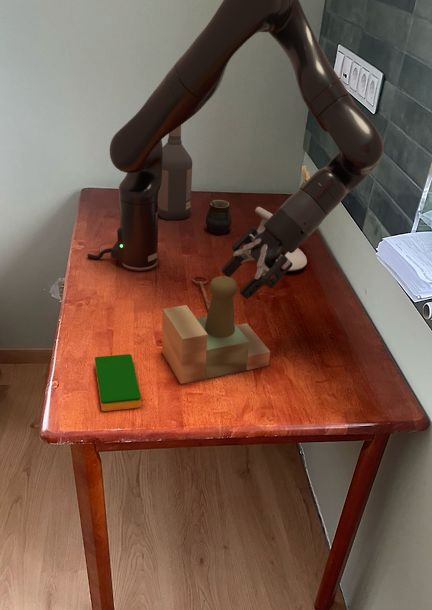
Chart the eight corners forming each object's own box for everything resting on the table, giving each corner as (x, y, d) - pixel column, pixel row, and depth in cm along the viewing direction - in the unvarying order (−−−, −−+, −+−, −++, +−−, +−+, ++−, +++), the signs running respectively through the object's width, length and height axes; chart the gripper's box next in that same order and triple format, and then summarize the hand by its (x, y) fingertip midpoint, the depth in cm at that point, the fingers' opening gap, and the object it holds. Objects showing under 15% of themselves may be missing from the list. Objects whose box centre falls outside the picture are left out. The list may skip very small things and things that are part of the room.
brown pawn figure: (232, 339, 119) (237, 289, 112) (202, 335, 120) (204, 285, 113) (237, 323, 124) (242, 274, 117) (207, 318, 124) (210, 270, 118)
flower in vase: (294, 280, 154) (309, 181, 139) (254, 266, 159) (265, 169, 143) (315, 261, 163) (332, 166, 148) (277, 249, 168) (290, 156, 152)
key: (225, 311, 141) (213, 279, 152) (226, 308, 140) (214, 276, 152) (200, 311, 139) (190, 278, 151) (201, 307, 139) (191, 275, 150)
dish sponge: (131, 363, 123) (131, 353, 121) (141, 407, 112) (141, 397, 111) (95, 366, 121) (94, 356, 120) (101, 412, 111) (101, 401, 109)
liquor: (161, 221, 177) (162, 110, 159) (154, 208, 184) (155, 101, 166) (191, 219, 179) (196, 110, 161) (184, 207, 186) (188, 101, 168)
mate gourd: (235, 230, 176) (238, 196, 169) (221, 238, 170) (224, 204, 164) (214, 223, 178) (216, 189, 172) (200, 231, 173) (201, 197, 167)
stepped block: (245, 336, 133) (250, 294, 126) (268, 365, 125) (274, 322, 118) (161, 352, 126) (162, 308, 120) (180, 384, 118) (182, 338, 112)
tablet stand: (290, 243, 171) (294, 214, 166) (268, 249, 167) (271, 219, 162) (271, 231, 176) (274, 203, 171) (249, 236, 173) (252, 208, 167)
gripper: (266, 193, 115) (206, 257, 119) (303, 224, 105) (237, 293, 109) (287, 217, 121) (229, 278, 124) (325, 249, 110) (261, 313, 114)
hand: (233, 284), depth 116 cm, fingers open, 8 cm apart
